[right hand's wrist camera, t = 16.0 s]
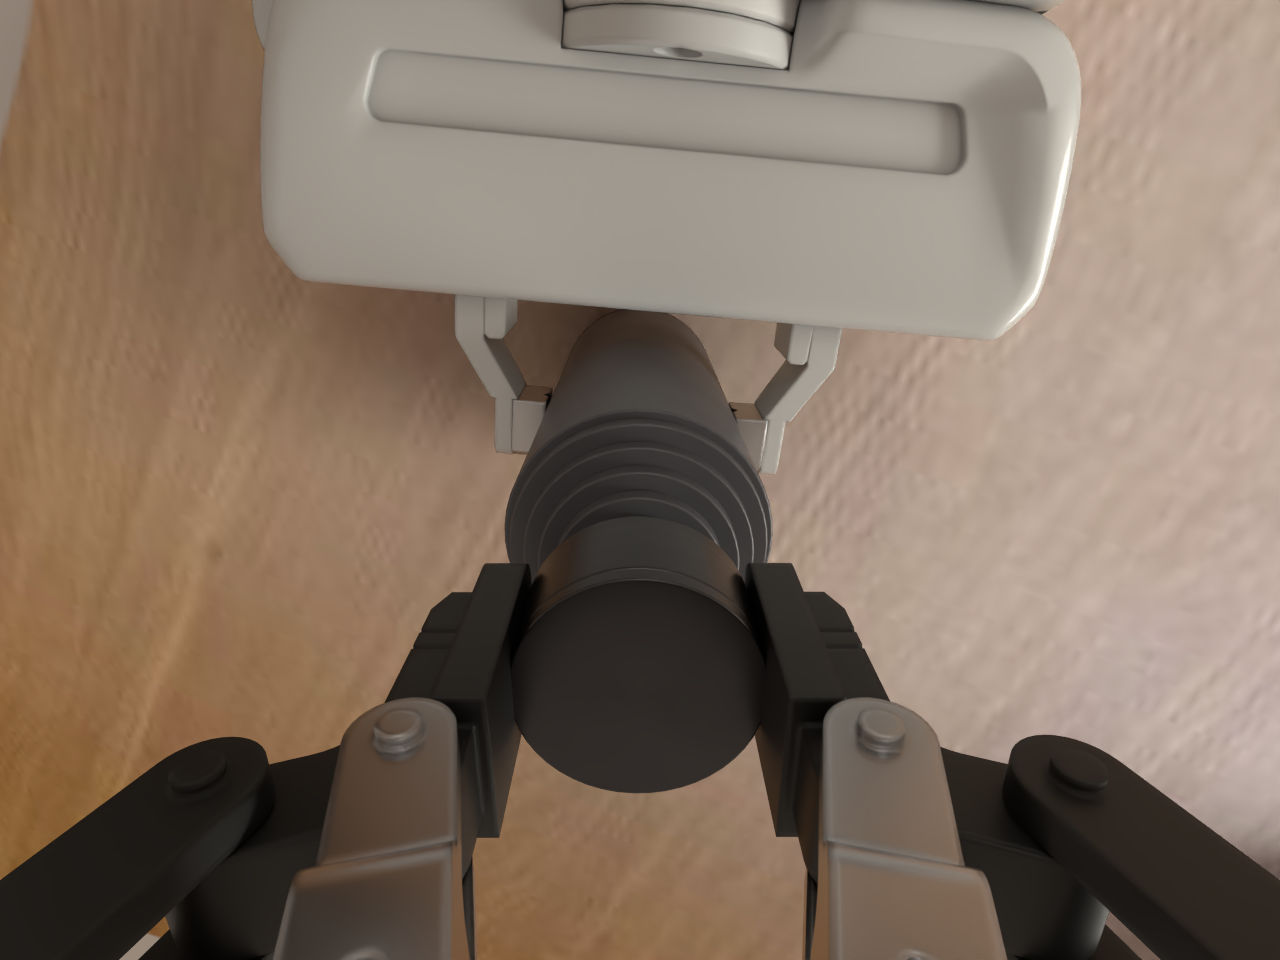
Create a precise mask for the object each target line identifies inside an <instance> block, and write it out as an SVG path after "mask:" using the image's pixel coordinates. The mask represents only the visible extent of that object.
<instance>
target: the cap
mask: <svg viewBox="0 0 1280 960" xmlns="http://www.w3.org/2000/svg"><path fill="white" fill-rule="evenodd" d="M765 665H766V660H765V656H764V652H763V649H762V645H761V641H760V638H759V634H758V630H757V627H756V623H755V619H754V616H753V612H752V608H751V605H750V601H749V597H748V593H747V590H746V586H745V583H744V581H743V578H742V576H741V574H740V572H739V570H738V569H737V567H736V565H735V564H734V562H733V561H732V560H731V558H730V557H729V556H728V555H727V554H726V553H725V551H724V550H723V549H722V548H720V547H719V546H718V545H717V544H716V543H715V542H714V541H712V540H711V539H709V538H708V537H707V536H705V535H704V534H702V533H700V532H698V531H696V530H694V529H692V528H690V527H688V526H686V525H683V524H680V523H677V522H675V521H671V520H666V519H662V518H656V517H645V516H635V517H622V518H615V519H610V520H607V521H603V522H599V523H597V524H594V525H592V526H589V527H587V528H584V529H582V530H581V531H579V532H577V533H575V534H574V535H572V536H570V537H569V538H568V539H566V540H565V541H564V542H562V543H561V544H560V545H559V546H558V547H557V548H556V549H555V550H554V551H553V552H552V553H551V554H550V555H549V556H548V557H547V559H546V560H545V561H544V563H543V564H542V565H541V567H540V569H539V571H538V572H537V574H536V576H535V579H534V581H533V584H532V587H531V589H530V593H529V597H528V600H527V604H526V608H525V611H524V615H523V619H522V622H521V626H520V630H519V633H518V637H517V641H516V644H515V648H514V651H513V655H512V659H511V665H510V668H511V682H512V694H513V707H514V718H515V721H516V724H517V726H518V728H519V730H520V732H521V733H522V735H523V736H524V738H525V740H526V741H527V742H528V744H529V745H530V746H531V747H532V748H533V750H534V751H535V752H536V753H537V754H538V755H539V756H540V757H541V758H543V759H544V760H545V761H546V762H547V763H548V764H550V765H551V766H552V767H554V768H555V769H557V770H558V771H560V772H561V773H563V774H565V775H567V776H569V777H571V778H572V779H575V780H577V781H579V782H582V783H584V784H587V785H590V786H593V787H597V788H600V789H605V790H610V791H615V792H625V793H653V792H661V791H668V790H672V789H676V788H681V787H684V786H687V785H690V784H693V783H696V782H698V781H700V780H702V779H704V778H706V777H708V776H710V775H712V774H714V773H715V772H717V771H719V770H720V769H722V768H723V767H725V766H726V765H727V764H728V763H730V762H731V761H732V760H734V759H735V758H736V757H737V756H738V755H739V754H740V753H741V752H742V751H743V750H744V749H745V747H746V746H747V745H748V743H749V742H750V741H751V739H752V738H753V737H754V735H755V733H756V731H757V730H758V728H759V726H760V724H761V718H762V705H763V692H764V679H765Z"/></svg>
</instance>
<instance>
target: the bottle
mask: <svg viewBox="0 0 1280 960" xmlns="http://www.w3.org/2000/svg"><path fill="white" fill-rule="evenodd" d="M635 516H645V517H656V518H662V519H666V520H671V521H675V522H677V523H680V524H683V525H686V526H688V527H690V528H692V529H694V530H696V531H698V532H700V533H702V534H704V535H705V536H707V537H708V538H709V539H711V540H712V541H714V542H715V543H716V544H717V545H718V546H719V547H720V548H722V549H723V550H724V551H725V553H726V554H727V555H728V556H729V557H730V558H731V560H732V561H733V562H734V564H735V565H736V567H737V569H738V570H739V572H740V574H741V576H742V578H743V581H744V583H745V572H746V566H747V564H748V563H767V562H768V558H769V554H770V550H771V542H772V516H771V510H770V504H769V501H768V497H767V494H766V491H765V488H764V486H763V483H762V481H761V479H760V476H759V474H758V472H757V469H756V467H755V465H754V462H753V460H752V458H751V456H750V453H749V451H748V449H747V446H746V444H745V442H744V439H743V437H742V435H741V432H740V430H739V428H738V425H737V423H736V421H735V418H734V416H733V414H732V411H731V409H730V407H729V404H728V402H727V400H726V397H725V395H724V393H723V390H722V388H721V386H720V383H719V381H718V379H717V376H716V374H715V372H714V369H713V367H712V365H711V362H710V360H709V358H708V355H707V353H706V351H705V349H704V347H703V345H702V343H701V342H700V340H699V339H698V337H697V336H696V335H695V333H694V332H693V331H692V330H691V329H690V328H689V327H688V326H687V325H685V324H684V323H683V322H682V321H680V320H679V319H677V318H675V317H674V316H672V315H669V314H667V313H663V312H651V311H640V310H628V309H623V310H618V311H615V312H612V313H610V314H607V315H606V316H604V317H602V318H600V319H598V320H597V321H596V322H594V323H593V324H592V325H590V326H589V327H588V328H587V329H586V330H585V331H584V332H583V334H582V335H581V336H580V337H579V339H578V340H577V342H576V344H575V345H574V347H573V349H572V351H571V354H570V356H569V358H568V361H567V363H566V365H565V368H564V370H563V372H562V375H561V377H560V379H559V382H558V384H557V386H556V389H555V391H554V393H553V396H552V398H551V400H550V403H549V405H548V407H547V410H546V412H545V414H544V417H543V419H542V421H541V424H540V426H539V428H538V431H537V433H536V435H535V438H534V440H533V442H532V445H531V447H530V449H529V452H528V454H527V456H526V459H525V461H524V463H523V466H522V468H521V470H520V473H519V475H518V477H517V480H516V482H515V484H514V487H513V489H512V491H511V494H510V498H509V501H508V505H507V509H506V517H505V543H506V548H507V554H508V558H509V561H510V563H528V564H529V566H530V570H531V578H532V584H533V581H534V579H535V576H536V574H537V572H538V571H539V569H540V567H541V565H542V564H543V563H544V561H545V560H546V559H547V557H548V556H549V555H550V554H551V553H552V552H553V551H554V550H555V549H556V548H557V547H558V546H559V545H560V544H561V543H562V542H564V541H565V540H566V539H568V538H569V537H570V536H572V535H574V534H575V533H577V532H579V531H581V530H582V529H584V528H587V527H589V526H592V525H594V524H597V523H599V522H603V521H607V520H610V519H615V518H622V517H635Z"/></svg>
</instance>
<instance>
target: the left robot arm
mask: <svg viewBox="0 0 1280 960" xmlns="http://www.w3.org/2000/svg"><path fill="white" fill-rule="evenodd" d="M1064 1H1065V0H252V7H253V18H254V23H255V27H256V30H257V34H258V37H259V39H260V42H261V44H262V47H263V49H264V51H265V53H264V65H263V80H262V97H261V120H260V185H261V209H262V221H263V228H264V233H265V236H266V238H267V241H268V242H269V244H270V245H271V247H272V248H273V249H274V250H275V252H276V253H277V254H278V255H279V257H280V258H281V259H282V261H283V262H284V263H285V264H286V266H287V267H288V268H289V269H290V270H291V272H292V273H293V274H294V275H295V276H296V277H298V278H299V279H301V280H304V281H309V282H319V283H330V284H341V285H353V286H364V287H376V288H387V289H399V290H410V291H422V292H433V293H445V294H455V337H456V339H457V340H458V342H459V344H460V346H461V347H462V349H463V351H464V352H465V354H466V356H467V358H468V359H469V361H470V363H471V364H472V366H473V368H474V370H475V371H476V373H477V375H478V376H479V378H480V380H481V382H482V383H483V385H484V387H485V388H486V390H487V392H488V394H489V395H490V397H493V398H495V449H496V452H498V453H506V454H528V452H529V449H530V447H531V445H532V442H533V440H534V438H535V435H536V433H537V431H538V428H539V426H540V424H541V421H542V419H543V417H544V414H545V412H546V410H547V407H548V405H549V403H550V400H551V398H552V388H551V387H542V386H532V385H526V382H525V380H524V378H523V376H522V374H521V372H520V370H519V368H518V366H517V364H516V362H515V360H514V358H513V356H512V354H511V352H510V350H509V348H508V346H507V344H506V342H505V340H504V338H503V337H504V336H505V335H506V334H507V333H508V332H509V331H510V330H511V329H512V328H513V327H514V326H515V325H516V324H517V311H518V300H525V301H536V302H548V303H559V304H571V305H582V306H594V307H605V308H617V309H628V310H640V311H651V312H663V313H674V314H686V315H697V316H709V317H720V318H731V319H743V320H754V321H766V322H777V327H776V334H775V342H774V346H775V347H776V349H777V350H778V351H779V352H780V353H781V354H782V355H783V356H784V357H785V358H786V361H785V362H784V363H783V365H782V366H781V367H780V369H779V370H778V371H777V373H776V374H775V375H774V377H773V378H772V379H771V381H770V382H769V383H768V385H767V386H766V387H765V389H764V390H763V391H762V393H761V394H760V395H759V397H758V398H757V400H756V401H755V404H748V403H732V402H729V407H730V409H731V411H732V414H733V416H734V418H735V421H736V423H737V425H738V428H739V430H740V432H741V435H742V437H743V439H744V442H745V444H746V446H747V449H748V451H749V453H750V456H751V458H752V460H753V462H754V465H755V467H756V469H757V472H758V474H770V475H774V474H775V473H776V470H777V468H778V463H779V457H780V451H781V445H782V439H783V434H784V428H785V422H790V421H791V420H792V419H793V418H794V416H795V415H796V414H797V413H798V412H799V411H800V409H801V408H802V407H803V406H804V405H805V403H806V402H807V401H808V400H809V399H810V398H811V396H812V395H813V394H814V393H815V392H816V390H817V389H818V388H819V387H820V386H821V385H822V383H823V382H824V381H825V380H826V379H827V377H828V376H829V375H830V374H831V373H832V372H833V370H834V369H835V365H836V360H837V354H838V349H839V344H840V339H841V334H842V329H843V328H846V329H858V330H869V331H881V332H892V333H904V334H915V335H927V336H938V337H950V338H961V339H973V340H985V341H990V340H995V339H997V338H999V337H1001V336H1002V335H1003V334H1004V333H1006V332H1007V331H1008V330H1009V329H1010V328H1011V327H1012V326H1014V325H1015V324H1016V323H1017V322H1018V321H1019V320H1020V319H1021V318H1022V317H1023V316H1024V315H1025V314H1026V313H1027V312H1028V311H1029V310H1030V309H1031V308H1032V307H1033V306H1034V304H1035V303H1036V301H1037V299H1038V297H1039V295H1040V293H1041V290H1042V288H1043V285H1044V282H1045V278H1046V275H1047V272H1048V268H1049V265H1050V261H1051V258H1052V254H1053V250H1054V246H1055V242H1056V238H1057V235H1058V231H1059V226H1060V222H1061V218H1062V213H1063V209H1064V205H1065V200H1066V195H1067V190H1068V185H1069V180H1070V174H1071V169H1072V164H1073V158H1074V152H1075V146H1076V140H1077V134H1078V127H1079V120H1080V110H1081V77H1080V70H1079V65H1078V61H1077V57H1076V54H1075V51H1074V49H1073V47H1072V45H1071V43H1070V41H1069V39H1068V38H1067V36H1066V35H1065V34H1064V32H1063V31H1062V30H1061V29H1060V28H1059V27H1058V26H1057V25H1056V24H1055V23H1053V22H1052V21H1051V20H1050V19H1048V18H1046V17H1045V16H1043V15H1042V14H1044V13H1045V12H1047V11H1049V10H1051V9H1053V8H1054V7H1056V6H1057V5H1059V4H1061V3H1062V2H1064Z"/></svg>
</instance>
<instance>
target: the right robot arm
mask: <svg viewBox="0 0 1280 960" xmlns="http://www.w3.org/2000/svg"><path fill="white" fill-rule="evenodd" d="M745 586H746V590H747V593H748V597H749V601H750V605H751V608H752V612H753V616H754V619H755V623H756V627H757V630H758V634H759V638H760V641H761V645H762V649H763V652H764V656H765V660H766V665H765V679H764V692H763V705H762V718H761V724H760V726H759V728H758V730H757V731H756V733H755V738H756V743H757V748H758V753H759V757H760V762H761V767H762V772H763V776H764V781H765V786H766V791H767V795H768V800H769V805H770V810H771V814H772V819H773V824H774V829H775V833H776V837H798V838H799V842H800V846H801V850H802V854H803V858H804V862H805V865H806V875H805V887H804V921H803V955H802V960H1142V959H1141V958H1139V957H1138V956H1137V955H1136V954H1135V953H1134V952H1133V951H1132V950H1131V949H1130V948H1129V947H1128V946H1127V945H1126V944H1125V943H1124V942H1123V941H1122V940H1121V939H1120V938H1119V937H1118V936H1117V935H1116V934H1115V933H1114V932H1113V931H1112V930H1111V929H1110V928H1109V927H1108V926H1107V925H1106V924H1105V923H1106V920H1107V917H1108V914H1109V911H1110V912H1111V913H1112V914H1113V915H1114V916H1115V917H1117V918H1118V919H1119V920H1120V921H1121V922H1122V923H1123V924H1124V925H1125V926H1126V927H1127V928H1128V929H1129V930H1130V931H1131V932H1132V933H1133V934H1134V935H1135V936H1137V937H1138V938H1139V939H1140V940H1141V941H1142V942H1143V943H1144V944H1145V945H1146V946H1147V947H1148V948H1149V949H1150V950H1151V951H1152V952H1153V953H1154V954H1155V955H1157V956H1158V957H1159V958H1160V959H1161V960H1280V880H1279V879H1277V878H1276V877H1275V876H1273V875H1272V874H1271V873H1269V872H1268V871H1267V870H1265V869H1264V868H1263V867H1261V866H1260V865H1259V864H1257V863H1256V862H1255V861H1253V860H1252V859H1250V858H1249V857H1248V856H1246V855H1245V854H1244V853H1242V852H1241V851H1240V850H1238V849H1237V848H1236V847H1234V846H1233V845H1232V844H1230V843H1229V842H1228V841H1226V840H1225V839H1224V838H1222V837H1221V836H1219V835H1218V834H1217V833H1215V832H1214V831H1213V830H1211V829H1210V828H1209V827H1207V826H1206V825H1205V824H1203V823H1202V822H1201V821H1199V820H1198V819H1197V818H1195V817H1194V816H1193V815H1191V814H1190V813H1188V812H1187V811H1186V810H1184V809H1183V808H1182V807H1180V806H1179V805H1178V804H1176V803H1175V802H1174V801H1172V800H1171V799H1170V798H1168V797H1167V796H1166V795H1164V794H1163V793H1162V792H1160V791H1159V790H1157V789H1156V788H1155V787H1153V786H1152V785H1151V784H1149V783H1148V782H1147V781H1145V780H1144V779H1143V778H1141V777H1140V776H1139V775H1137V774H1136V773H1135V772H1133V771H1132V770H1131V769H1129V768H1128V767H1126V766H1125V765H1124V764H1122V763H1121V762H1120V761H1118V760H1117V759H1115V758H1114V757H1112V756H1111V755H1109V754H1107V753H1106V752H1104V751H1102V750H1100V749H1098V748H1096V747H1094V746H1091V745H1089V744H1087V743H1084V742H1081V741H1078V740H1075V739H1071V738H1067V737H1062V736H1056V735H1035V736H1031V737H1027V738H1025V739H1022V740H1020V741H1019V742H1018V743H1017V744H1015V746H1014V747H1013V749H1012V751H1011V754H1010V758H1009V763H1008V764H1004V763H1000V762H995V761H991V760H987V759H982V758H978V757H974V756H969V755H965V754H961V753H957V752H954V751H950V750H948V749H945V748H942V747H940V744H939V741H938V738H937V735H936V734H935V732H934V730H933V729H932V728H931V726H930V725H929V724H928V723H927V722H926V721H925V720H924V719H923V718H922V717H920V716H919V715H918V714H916V713H915V712H913V711H911V710H910V709H908V708H906V707H904V706H901V705H899V704H897V703H894V702H890V700H889V698H888V696H887V694H886V692H885V690H884V688H883V686H882V684H881V682H880V680H879V678H878V676H877V674H876V672H875V670H874V668H873V666H872V664H871V661H870V659H869V657H868V655H867V653H866V651H865V649H862V643H861V641H860V639H859V637H858V635H857V633H856V632H854V627H853V625H852V623H851V621H850V619H849V617H848V615H847V613H846V611H845V609H844V608H843V607H842V606H841V605H839V604H838V603H837V602H836V601H834V600H833V599H832V598H831V597H830V596H828V595H827V594H826V593H825V592H804V591H803V589H802V587H801V584H800V582H799V579H798V577H797V574H796V572H795V569H794V567H793V565H792V564H791V563H748V564H747V566H746V572H745ZM531 587H532V578H531V570H530V566H529V564H528V563H486V564H484V566H483V568H482V570H481V573H480V575H479V577H478V580H477V582H476V585H475V587H474V589H473V592H452V593H451V594H450V595H448V596H447V597H446V598H445V599H443V600H442V601H441V602H440V603H438V604H437V605H436V606H435V607H433V608H432V609H431V611H430V613H429V615H428V617H427V619H426V621H425V623H424V625H423V627H422V632H421V633H419V635H418V637H417V639H416V641H415V643H414V647H413V649H411V651H410V653H409V655H408V657H407V659H406V661H405V663H404V665H403V667H402V669H401V671H400V673H399V675H398V677H397V679H396V681H395V683H394V685H393V687H392V689H391V691H390V693H389V695H388V697H387V699H386V701H385V703H383V704H381V705H379V706H376V707H374V708H372V709H370V710H369V711H367V712H365V713H364V714H362V715H361V716H360V717H358V718H357V719H356V720H355V721H354V722H353V723H352V724H351V725H350V726H349V728H348V729H347V730H346V732H345V734H344V735H343V738H342V741H341V744H340V745H339V746H337V747H335V748H332V749H329V750H327V751H324V752H320V753H317V754H313V755H309V756H304V757H300V758H296V759H291V760H287V761H283V762H278V763H274V764H270V765H269V763H268V759H267V755H266V752H265V750H264V749H263V747H262V746H261V745H259V744H258V743H257V742H255V741H253V740H250V739H246V738H242V737H222V738H216V739H210V740H207V741H203V742H199V743H196V744H194V745H191V746H188V747H186V748H184V749H182V750H179V751H177V752H175V753H174V754H172V755H170V756H168V757H167V758H165V759H164V760H162V761H161V762H159V763H158V764H156V765H155V766H154V767H152V768H151V769H149V770H148V771H147V772H145V773H144V774H143V775H141V776H140V777H139V778H137V779H136V780H135V781H133V782H132V783H131V784H129V785H128V786H127V787H125V788H124V789H123V790H121V791H120V792H118V793H117V794H116V795H114V796H113V797H112V798H110V799H109V800H108V801H106V802H105V803H104V804H102V805H101V806H100V807H98V808H97V809H96V810H94V811H93V812H92V813H90V814H89V815H87V816H86V817H85V818H83V819H82V820H81V821H79V822H78V823H77V824H75V825H74V826H73V827H71V828H70V829H69V830H67V831H66V832H65V833H63V834H62V835H61V836H59V837H58V838H56V839H55V840H54V841H52V842H51V843H50V844H48V845H47V846H46V847H44V848H43V849H42V850H40V851H39V852H38V853H36V854H35V855H34V856H32V857H31V858H29V859H28V860H27V861H25V862H24V863H23V864H21V865H20V866H19V867H17V868H16V869H15V870H13V871H12V872H11V873H9V874H8V875H7V876H5V877H4V878H3V879H1V880H0V960H119V959H120V958H121V957H122V956H123V955H124V954H126V953H127V952H128V951H129V950H130V949H131V948H132V947H133V946H134V945H135V944H136V943H137V942H138V941H139V940H140V939H141V938H142V937H143V936H144V935H146V934H147V933H148V932H149V931H150V930H151V929H152V928H153V927H154V926H155V925H156V924H157V923H158V922H159V921H160V920H161V919H162V918H163V917H166V920H167V922H168V925H169V928H170V929H169V930H168V931H167V932H166V933H165V934H164V935H163V936H162V937H161V938H160V939H159V940H158V941H157V942H156V943H155V944H154V945H153V946H152V947H151V948H150V949H149V950H148V951H147V952H146V953H145V954H144V955H143V956H142V957H141V958H139V959H138V960H478V955H477V921H476V887H475V875H474V866H473V858H472V855H473V851H474V847H475V843H476V839H477V838H499V836H500V831H501V827H502V822H503V817H504V813H505V808H506V804H507V799H508V794H509V790H510V785H511V781H512V776H513V771H514V767H515V762H516V758H517V753H518V748H519V744H520V739H521V735H522V733H521V732H520V730H519V728H518V726H517V724H516V721H515V718H514V707H513V694H512V682H511V668H510V665H511V659H512V655H513V651H514V648H515V644H516V641H517V637H518V633H519V630H520V626H521V622H522V619H523V615H524V611H525V608H526V604H527V600H528V597H529V593H530V589H531Z"/></svg>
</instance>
